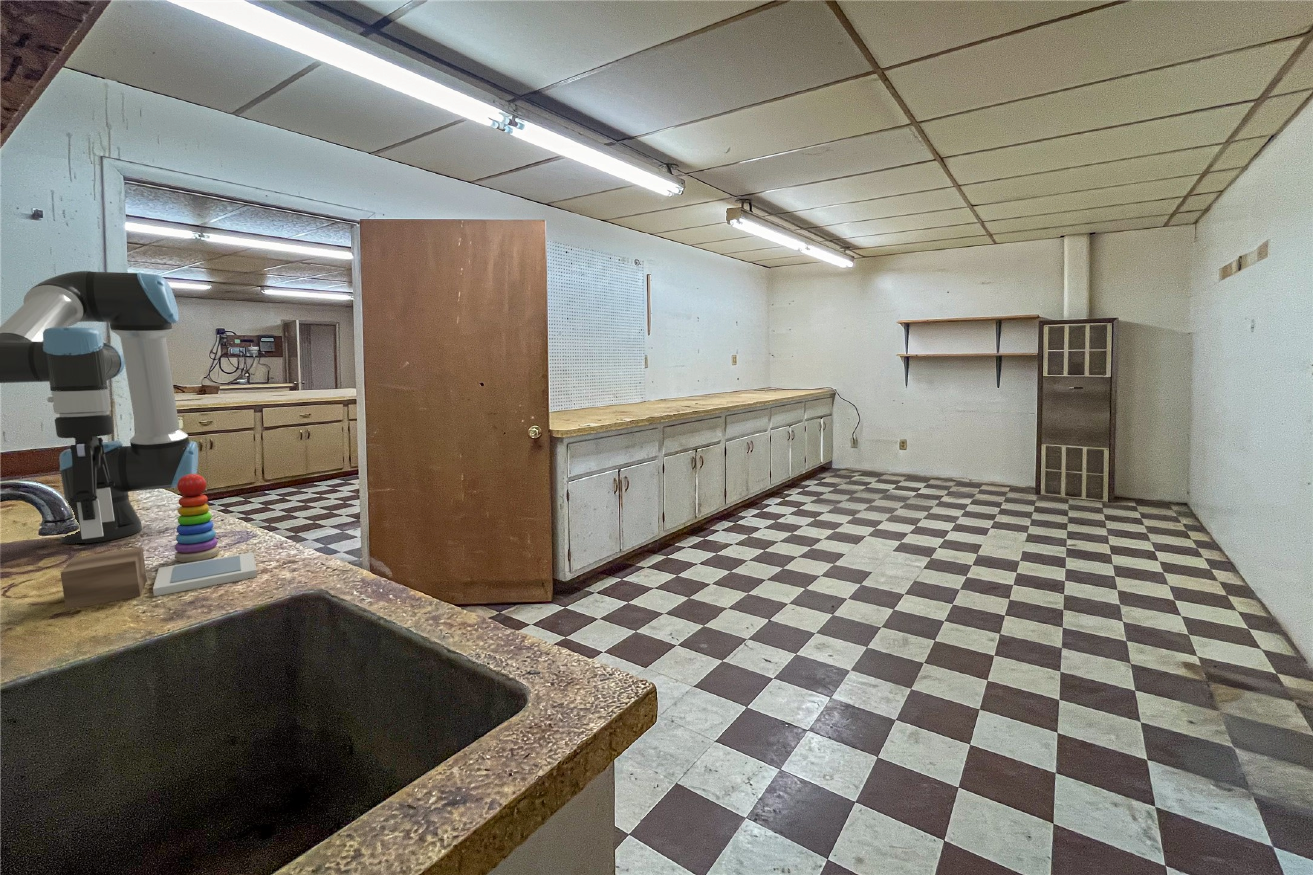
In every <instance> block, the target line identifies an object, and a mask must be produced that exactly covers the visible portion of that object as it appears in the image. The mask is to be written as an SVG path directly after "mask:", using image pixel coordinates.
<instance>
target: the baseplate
mask: <svg viewBox="0 0 1313 875" xmlns="http://www.w3.org/2000/svg"><path fill="white" fill-rule="evenodd" d="M254 554H255V553H254V551H253V552H246V553H240V554H235V555H229V556H228V555H227V556H222V557H218V558H210V559H206V560H202V561H196V562H185V563H180V564H175V565H174V564H173V565H169V566H164V567H159V568H158V570H157V574H156V577H155V580H154V584H153V587H152V592H153V597H158V596H163V595H168V594H169V595H170V594H174V593H180V592H184V591H185V592H186V591H190V590H196V589H201V588H207V587H211V586H216V585H217V584H218V585H223V584H229V583H234V582H238V581H244V580H248V578H250V579H254V577H255V578H258V573H257V572H258V571H257V566H256V559H255V555H254ZM233 581H234V582H233ZM218 585H217V586H218Z"/></svg>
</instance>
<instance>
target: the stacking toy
mask: <svg viewBox="0 0 1313 875" xmlns="http://www.w3.org/2000/svg"><path fill="white" fill-rule="evenodd" d="M176 489H177V491H178V492H179V493H180V494H181V495H182V497H180V498H179V499H178V504H179V507H178V508H177V514H178V515H179V516H178V517H177V523H178V525H177V526H176V532H177V535H176V536H175V540H176V542H177V543H176V544H175V545H174V550H175V551H176V552H175V554H174V559H175V560H176V561H177V562H181V563H192V562H198V561H204V560H210V559H213V558H214V557H216V556H218V555H219V554H220V552H221V551H220V547H219V545H218V538H216V535H217V532H216V531H215V530H214V529H213V527H214V523H213V521H212V517H213V516H212V513H210V512H209V510H210V506H209V505H208V504H207V502H208V499H209V498H208V497H207V495H205V494H203V493H204V492H205V491H206V489H207V481H206V479H205V478H204V477H203V476H202V475H199V474H198V473H196V474H188V475H185V476H183V477H182V478H181V479H180V480H179V481H178V484H177V487H176ZM217 545H218V546H217Z"/></svg>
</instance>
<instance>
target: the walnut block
mask: <svg viewBox="0 0 1313 875" xmlns="http://www.w3.org/2000/svg"><path fill="white" fill-rule="evenodd" d="M144 557H145V556H144V548H143V546H142V547H135V548H128V549H121V550H115V551H107V552H103V553H102V552H101V553H94V554H88V555H80V556H73V557H72V558H71V559H70V561H68V563H67V564H66V565H65V567H63V569H62V570H61V571H60V578H61V580H60V581H61V584H62V585H61V586H62V591H63V597H64V604H65V605H64V606H65V610H66V609H67V610H72V608H73V609H77V607H78V608H83V607H82V606H84V607H87V606H88V607H89V606H93V605H94V604H95V605H100V603H101V604H105V603H110V602H109V601H112V602H117V601H121V600H127V599H134V598H138V597H141V595H142V593H143V591H144V588H145V586H146V583H147V581H148V579H147V571H146V563H145V558H144Z"/></svg>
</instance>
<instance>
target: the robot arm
mask: <svg viewBox="0 0 1313 875" xmlns="http://www.w3.org/2000/svg"><path fill="white" fill-rule="evenodd" d="M179 318H180V315H179V308H178V305H177V301H176V298H175V294H174V292H173V290H172V288H171V285H170V284H169V282H168V280H166V279H165V277H163V276H162V275H159V274H154V273H153V274H152V273H151V274H150V273H144V272H143V273H142V272H113V271H112V272H111V271H90V270H80V271H72V272H66V273H62V274H58V275H55V276H53V277H50V278H48V279H45V280H43V281H41V282H39V283H37V284H36V285H34V286H33V287H31V288H30V289H29V290H28V291H27V292H26V293H25V295H24V297H23V304H22V306H20V307H19V308H18V309H17V310H16V311H15V312H14V313H13V314H12V315H11V316H10V317H8V319H7V320H6V321H5V322H4V323H3V324H2V325H0V384H15V383H16V384H17V383H42V382H43V383H49V389H50V392H51V396H48V397H47V399H46V400H47V402H48V403H52V408H53V413H54V414H56V415H59V416H57V417H55V418H54V426H55V431H56V432H55V433H56V436H57V437H58V438H59V439H74V440H75V441H74V444H70V447H69V448H67V449H65V450H63V451H62V452H60V454H59V457H58V458H59V459H58V460H59V470H58V471H59V472H60V478H61V484H62V489H63V490H62V491H63V496H64V500H65V499H66V500H67V501H68V503H69V505H70V506H71V508H72V510H73V512H74V515H75V519H76V520H77V522H78V523H79V525H80V531H78V532H76V533H75V534H71V535H67V536H65V537H60V536H59V537H60V542H61V543H62V544H65V545H78V544H77V543H85V544H92V543H94V544H95V543H99V542H107V541H111V540H116V539H122V538H124V537H129V536H132V535H135V534H137V533H140V532H141V531H143V524H142V520H141V519H140V517H139V515H138V514H137V512H136V511H135V509H134V507H133V505H132V504H131V502H130V496H129V493H130V492H141V491H152V490H162V489H174V488H177V484H178V481H179V480H180V479H181V478H182V477H183V476H185V475H188V474H198V473H197V472H198V465H199V448H198V443H197V442H196V441H194V440H191V441H190V440H189V434H188V433H186V432H185V431H183V430H182V429H181V428H180V422H179V416H178V409H177V402H176V398H175V397H176V396H175V390H174V383H173V382H174V381H173V376H172V370H171V364H170V357H169V350H168V343H167V336H168V335H169V334H171V332H172V331H173V325H172V324H176V323H178V322H179V320H180V319H179ZM82 322H83V323H84V322H89V323H93V322H97V323H108V324H109V330H110V331H111V332H112V333H115V335H117V336H118V337H119V338H120V343H121V348H122V352H121V351H120V350H119V349H118V348H116V347H115V346H113V345H111V344H109V343H107V342H104V341H102V336H101V332H100V331H99V330H98V329H96V328H93V327H78V326H77V327H74V325H76V324H77V323H82ZM71 326H72V327H71ZM124 369H125V373H126V379H127V383H128V384H127V385H128V389H129V390H128V392H129V395H130V401H131V402H130V403H131V407H132V408H131V410H132V413H133V414H132V415H133V419H134V420H133V421H134V426H135V432H136V433H135V434H134V435H133V436H132V437H131V438H130V439H129V443H130V445H125V446H124V445H123V444H124V443H122V441H121V440H113V441H112V440H111V441H104V440H103V438H102V437H103V436H104V437H105V436H110V435H112V434H113V433H114V424H113V416H112V415H111V414H109V413H108V412H110V411H111V410H112V407H111V406H112V405H111V400H110V399H111V398H110V391H109V388H108V381H109V380H111V379H114V378H116V377H118V376H119V375H120V374H122V372H123V371H124ZM75 543H76V544H75Z"/></svg>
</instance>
